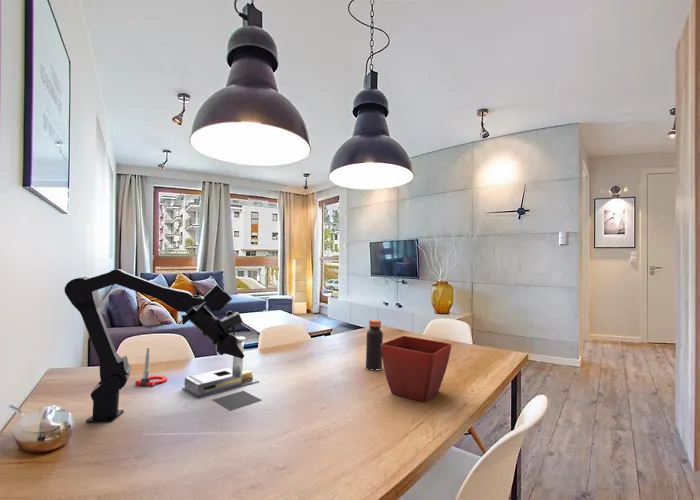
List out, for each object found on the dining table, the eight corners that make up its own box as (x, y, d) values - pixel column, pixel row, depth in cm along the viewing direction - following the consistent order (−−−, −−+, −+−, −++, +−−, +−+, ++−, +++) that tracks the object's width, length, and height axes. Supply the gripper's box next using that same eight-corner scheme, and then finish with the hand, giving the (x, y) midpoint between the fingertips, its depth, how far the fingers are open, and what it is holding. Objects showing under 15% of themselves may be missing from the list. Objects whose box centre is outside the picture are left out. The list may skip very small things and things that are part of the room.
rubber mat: (230, 412, 100) (230, 410, 100) (211, 401, 108) (211, 399, 108) (262, 401, 109) (262, 400, 109) (243, 391, 116) (243, 390, 116)
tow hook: (151, 378, 128) (132, 385, 119) (154, 342, 129) (135, 347, 120) (172, 380, 127) (154, 387, 117) (175, 344, 128) (157, 349, 118)
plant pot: (451, 391, 123) (452, 343, 123) (431, 409, 107) (432, 354, 107) (402, 379, 133) (403, 335, 134) (377, 394, 118) (379, 344, 118)
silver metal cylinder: (242, 377, 108) (244, 339, 109) (229, 378, 108) (231, 339, 108) (244, 373, 112) (246, 336, 113) (231, 373, 112) (233, 336, 112)
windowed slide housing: (198, 400, 108) (199, 386, 108) (182, 389, 116) (182, 376, 116) (258, 383, 124) (259, 370, 125) (240, 375, 132) (241, 363, 133)
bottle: (362, 367, 146) (363, 320, 147) (373, 364, 151) (374, 318, 151) (373, 371, 141) (375, 322, 142) (385, 368, 146) (386, 321, 146)
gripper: (231, 307, 101) (267, 343, 105) (224, 300, 117) (255, 331, 122) (200, 336, 97) (239, 372, 101) (197, 324, 114) (231, 355, 118)
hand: (242, 355), depth 111 cm, fingers closed on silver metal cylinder, 3 cm apart
